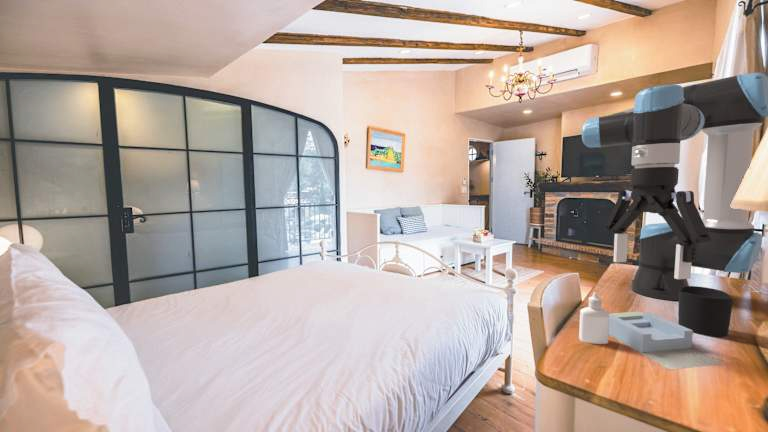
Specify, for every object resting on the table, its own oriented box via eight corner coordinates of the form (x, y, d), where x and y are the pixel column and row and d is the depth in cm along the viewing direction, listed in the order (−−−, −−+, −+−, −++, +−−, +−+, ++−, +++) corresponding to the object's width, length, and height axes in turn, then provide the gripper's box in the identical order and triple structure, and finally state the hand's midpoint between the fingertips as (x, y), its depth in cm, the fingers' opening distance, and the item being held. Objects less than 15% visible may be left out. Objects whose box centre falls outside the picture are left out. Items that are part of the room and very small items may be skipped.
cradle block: (649, 328, 81) (650, 312, 81) (691, 348, 71) (692, 330, 71) (605, 331, 80) (606, 315, 79) (642, 352, 70) (643, 334, 70)
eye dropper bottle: (606, 350, 72) (608, 298, 71) (577, 342, 76) (579, 292, 75) (609, 343, 76) (611, 292, 74) (581, 336, 79) (583, 287, 78)
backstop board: (638, 324, 85) (638, 311, 85) (727, 366, 65) (728, 350, 65) (592, 328, 83) (592, 314, 83) (669, 372, 64) (670, 355, 63)
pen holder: (741, 338, 77) (744, 297, 76) (708, 342, 75) (711, 300, 74) (696, 322, 86) (699, 284, 85) (666, 325, 84) (668, 287, 83)
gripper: (589, 169, 78) (586, 257, 80) (708, 162, 53) (698, 289, 55) (617, 169, 79) (613, 255, 81) (745, 162, 55) (735, 286, 57)
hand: (648, 269), depth 68 cm, fingers open, 13 cm apart
